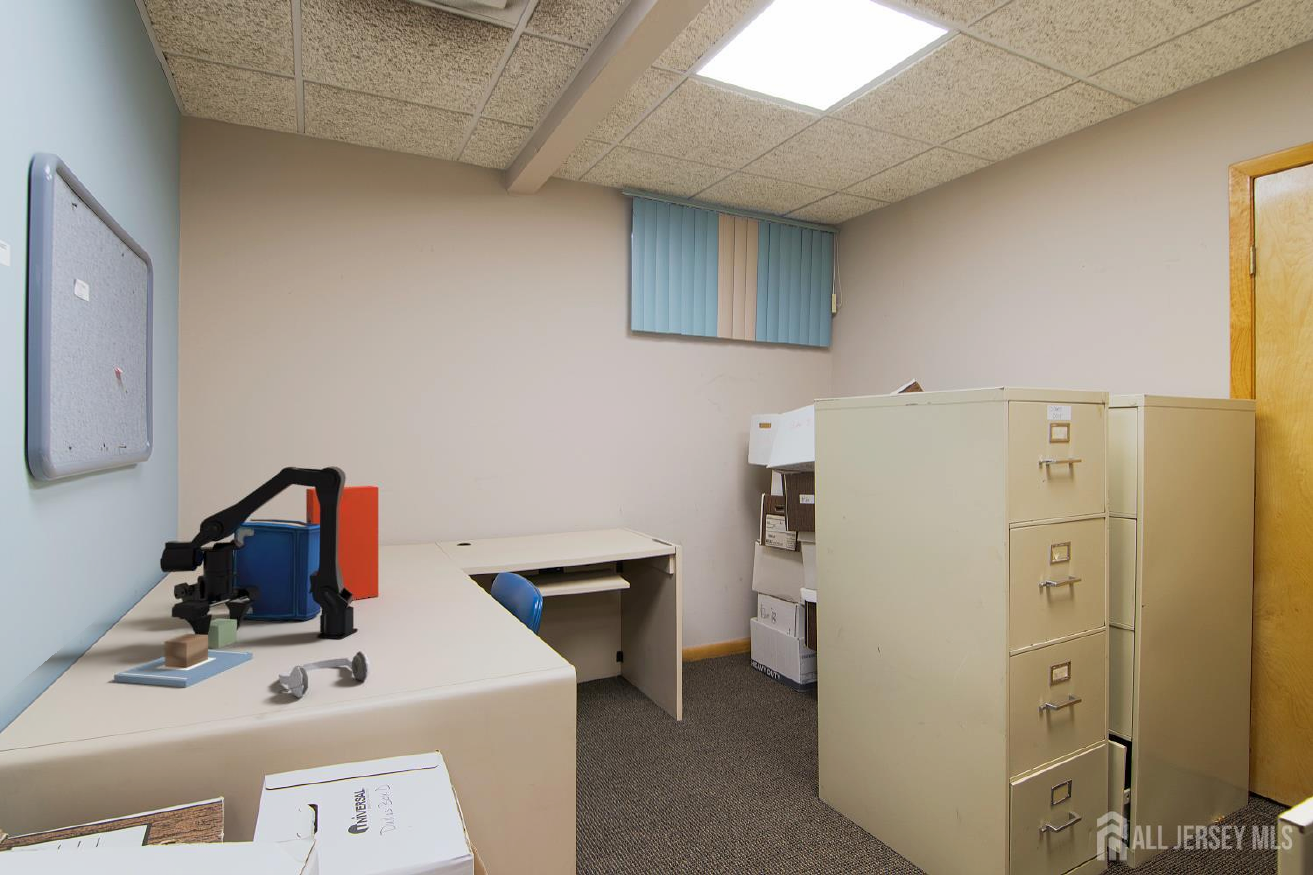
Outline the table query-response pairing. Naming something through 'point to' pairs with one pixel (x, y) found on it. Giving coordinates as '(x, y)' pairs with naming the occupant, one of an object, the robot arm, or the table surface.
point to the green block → (222, 632)
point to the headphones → (298, 675)
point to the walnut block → (186, 650)
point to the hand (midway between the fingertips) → (218, 638)
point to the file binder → (354, 537)
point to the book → (278, 567)
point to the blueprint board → (183, 670)
